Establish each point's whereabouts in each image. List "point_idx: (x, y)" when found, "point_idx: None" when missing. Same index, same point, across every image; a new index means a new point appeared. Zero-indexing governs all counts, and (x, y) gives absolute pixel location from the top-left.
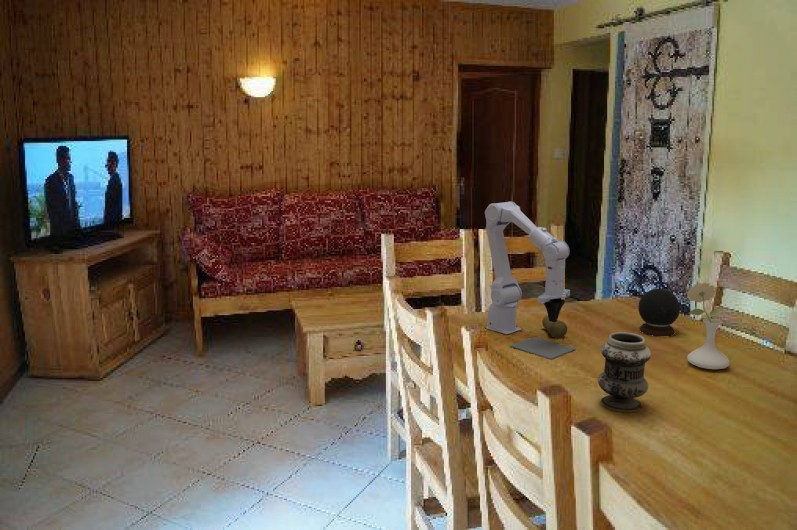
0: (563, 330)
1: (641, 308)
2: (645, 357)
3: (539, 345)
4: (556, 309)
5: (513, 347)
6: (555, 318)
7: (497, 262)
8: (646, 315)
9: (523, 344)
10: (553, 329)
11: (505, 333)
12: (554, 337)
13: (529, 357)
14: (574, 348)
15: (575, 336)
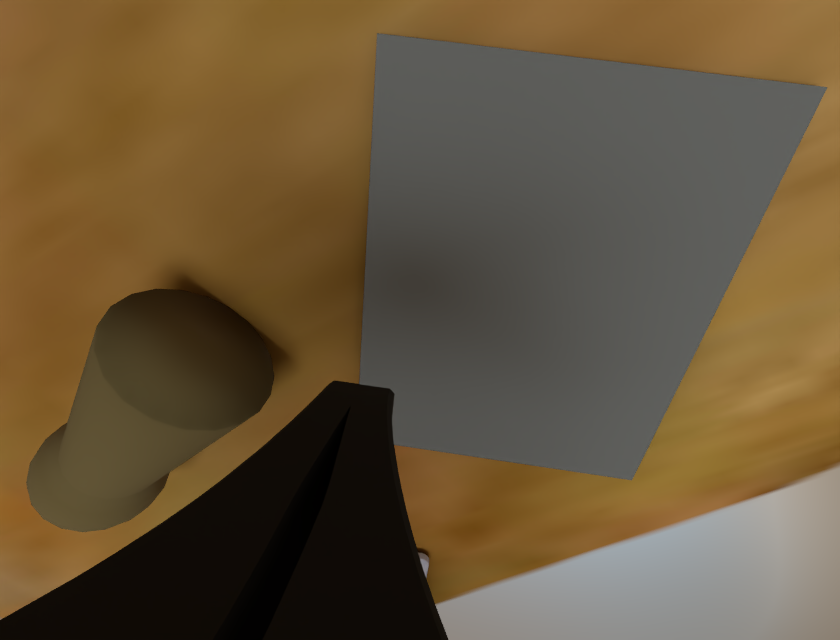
0: (160, 318)
1: None
2: None
3: (510, 340)
4: (380, 595)
5: (643, 450)
6: (381, 418)
7: None
8: None
9: (559, 428)
10: (234, 383)
11: (428, 564)
12: (259, 337)
13: (817, 280)
14: (381, 50)
15: (83, 234)
